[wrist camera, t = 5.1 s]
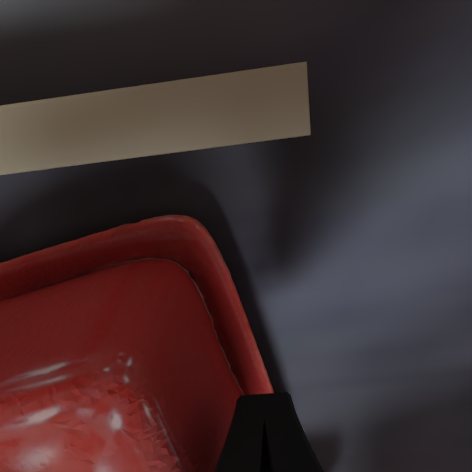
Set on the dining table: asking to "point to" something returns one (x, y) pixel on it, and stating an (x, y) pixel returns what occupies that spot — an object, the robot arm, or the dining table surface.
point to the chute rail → (156, 119)
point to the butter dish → (123, 352)
